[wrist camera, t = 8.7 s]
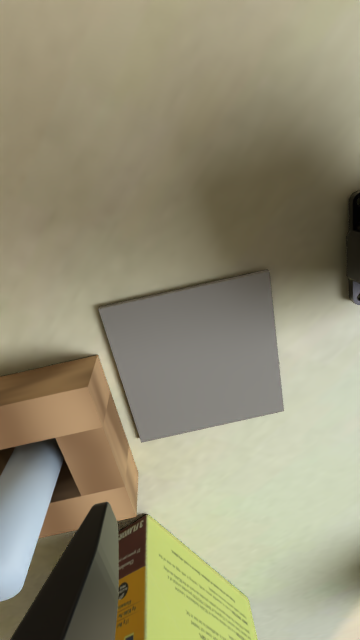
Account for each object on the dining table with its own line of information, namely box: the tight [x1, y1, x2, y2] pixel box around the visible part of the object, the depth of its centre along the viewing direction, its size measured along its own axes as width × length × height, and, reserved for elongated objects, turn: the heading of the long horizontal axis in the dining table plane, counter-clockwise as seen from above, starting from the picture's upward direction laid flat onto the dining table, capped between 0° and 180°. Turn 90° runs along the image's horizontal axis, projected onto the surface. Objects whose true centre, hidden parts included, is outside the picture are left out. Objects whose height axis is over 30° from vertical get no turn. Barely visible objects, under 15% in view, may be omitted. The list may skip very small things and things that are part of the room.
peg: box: [0, 438, 64, 601], centre depth 18 cm, size 3×3×9 cm
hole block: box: [0, 355, 138, 538], centre depth 21 cm, size 10×10×4 cm
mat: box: [98, 270, 284, 443], centre depth 21 cm, size 10×10×1 cm
